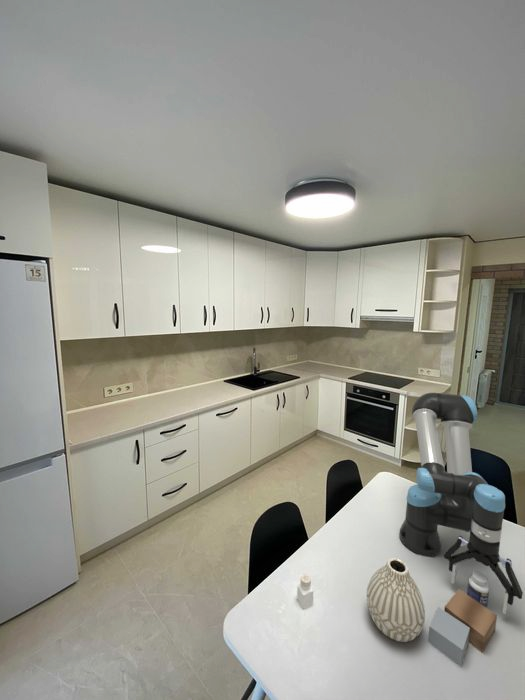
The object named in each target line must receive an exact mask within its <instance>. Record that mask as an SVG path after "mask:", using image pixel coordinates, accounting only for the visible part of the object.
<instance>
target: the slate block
mask: <svg viewBox="0 0 525 700" xmlns="http://www.w3.org/2000/svg"><path fill="white" fill-rule="evenodd" d="M469 632H470V628H469V627H468V626H466V625H465V624H463V623H462V622H460V621H459V620H457V619H456V618H454V617H453V616H451V615H450V614H448V613H447V612H445V611H444V609H442V608H441V607H440V606H439V607H438V606H437V608H436V611H435V613H434V614H433V617H432V619H431V622H430V624H429V626H428V636H427V642H428V644H430V645H431V646H433V647H434V648H435V649H436V650H438V651H439V652H440V653H443V654H444V655H445V656H446V657H448V659H450V660H451V661H453V662H454V663H455V664H457V665H458V666H459V667H462V664H463V661H464V659H465V655H466V651H467V648H468V645H469V642H468V640H469Z"/></svg>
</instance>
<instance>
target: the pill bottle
mask: <svg viewBox="0 0 525 700" xmlns="http://www.w3.org/2000/svg"><path fill="white" fill-rule="evenodd" d="M471 573H472V575H471V576H470V577H469V578H468V583H467V591H466V594H467V595H469V596H470V597H471V598H473V599H474V600H476V601H477V602H479V603H480V604H482V605H483V606H484V607H486V608H487V607H488V601H489V594H490V587H489V584H488V577H487V576H486V575H485V574H484V573H482V572H481V571H478V570H477V571H475V570H474V571H473V572H471ZM487 609H488V608H487Z"/></svg>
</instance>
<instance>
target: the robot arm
mask: <svg viewBox="0 0 525 700" xmlns="http://www.w3.org/2000/svg"><path fill="white" fill-rule="evenodd" d="M411 417H412V420H413V421H414V422H415V427H416V435H417V436H416V437H417V442H418V448H419V449H418V450H419V456H420V465H421V467H418V468H416V469H417V470H416V476H415V477H416V484H413V485H411V486H410V487H409V488H408V490H407V495H406V505H405V506H406V507H405V508H406V509H405V517H404V518H405V519H404V521H403V522H402V524H401V527H400V529H399V539H400V542H401V543H402V544H403V546H405V547H406V548H407V549H408V550H410V551H411V552H413V553H415V554H417V555H420V556H424V557H436V556H438V555H439V554H440V553H441V550H442V549H441V548H442V542H441V538H440V534H439V531H438V527H439V526H442V527H447V528H451V529H455V530H459V531H463V532H466V533H469V541H467V540H465V539H464V537H463V536H462V535H459V536H458V538H457V540H456V542H455V543H454V544H452V545H451V546H450V547H449V549H447V550H446V551H445V553H444V554H443V558H444V559H445V560H447V561H448V562H449V564H448V571H449V572H451V579H450V581H451V582H450V583H452V584H455V581H456V580H457V572H458V571H457V570H458V563H460V562H463V561H465V560H466V561H467V560H471V559H474V560H475V561H476V562H477V563H480V564H482V565H483V566H486V567H489V568H490V569H491V571H492V572H493V573H494V574H495V576H496V577H497V579H498V581H499V582H500V583H501V585H502V586H503V588H504V589H505V591H504V592H505V593H504V597H503V599H504V600H503V604H502V605H503V606H502V613H503V614H504V615H506V614H507V610H508V605H510V606H513V604H514V598H515V597H516V598H517V599H519V600H521V599H523V593H524V592H523V590H522V588H521V585H520V583H519V581H518V579H517V576H516V574H515V572H514V571H515V570H513V566H512V565H513V564H512V560H511V558H506V559H505V558H503V557H500V553H499V552H500V545H501V537H502V529H503V519H504V514H505V509H506V495H505V494H504V492H503V491H502V490H500V489H498V488H497V487H495V486H493V485H490V484H488V482H487V481H486V480H485V479H484V478H483V476H482V475H480V474H479V473H477V472H473V469H472V467H473V466H472V457H471V456H472V455H471V442H470V433H469V432H470V429H472V428H473V426H474V425H473V424H475V423H476V422H477V420H478V409H477V405H476V403H475V401H474V399H473V398H471V397H470V396H468V395H463V394H462V395H461V394H453V393H452V394H450V393H440V392H427V393H424V394H422V395H421V396H419V397H418V398H417V399H416V400H415V402H414V403H413V406H412V408H411ZM437 420H440V425H442V426H443V427H444V429H445V450H446V451H445V452H446V455H445V456H446V468H445V463H444V459H443V453H442V449H441V443H440V439H439V434H438V429H437V423H436V421H437ZM445 469H446V470H445ZM464 546H466V548H467V550H465V551H463V552H461V553H458V554H457V553H456V554H455V552H457V551H458V550H459V548H461V547H464ZM453 554H454V555H453ZM499 563H500V564H501V565H502V568H504V569H505V573H506V574H507V575H505V573H504V571H502V569H501V568H500V565H499ZM507 577H508V578H507Z"/></svg>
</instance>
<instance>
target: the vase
mask: <svg viewBox="0 0 525 700" xmlns="http://www.w3.org/2000/svg"><path fill="white" fill-rule="evenodd" d="M408 567H409V566H408V565H407V564H406V563H405V562H404V561H403V560H401V559H399V558H396V557H391V558H389V559H388V560H387V562H386V563H385V565H383V566H381V567H380V568H379V569H377V570H376V571H375V572H374V573H373V574H372V576H371V577H370V580H369V582H368V583H367V587H366V602H367V603H366V604H367V608H368V612H369V615H370V617H371V619H372V620H373V622H374V624H375V626H376V627H377V629H379V631H381V632H382V633H383V634H384V635H385V636H387V637H388V638H390V639H391V640H394V641H396V642H399V643H400V642H402V643H407V642H410V641H413V640H414V639H416V638H417V637H418V636H419V635H420V634H421V632H422V630H423V628H424V624H425V619H426V609H425V604H424V600H423V596H422V594H421V591H420V589H419V587H418V585H417V584H416V582H415V580H414V578H413V577H412V576H411V574H410V572H409V571H410V570H409V568H408Z"/></svg>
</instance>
